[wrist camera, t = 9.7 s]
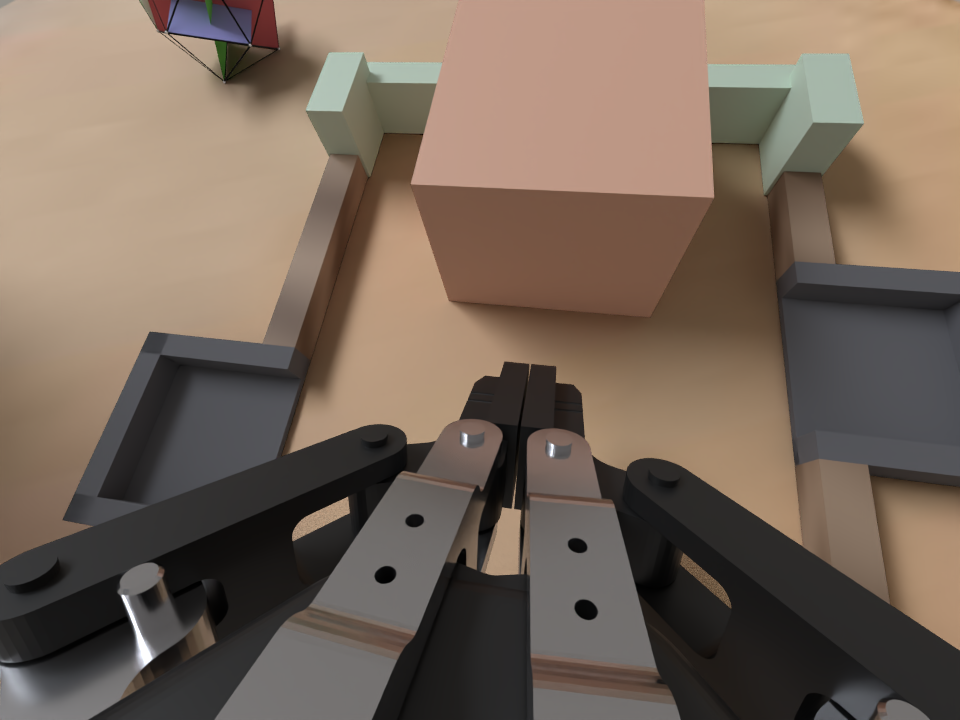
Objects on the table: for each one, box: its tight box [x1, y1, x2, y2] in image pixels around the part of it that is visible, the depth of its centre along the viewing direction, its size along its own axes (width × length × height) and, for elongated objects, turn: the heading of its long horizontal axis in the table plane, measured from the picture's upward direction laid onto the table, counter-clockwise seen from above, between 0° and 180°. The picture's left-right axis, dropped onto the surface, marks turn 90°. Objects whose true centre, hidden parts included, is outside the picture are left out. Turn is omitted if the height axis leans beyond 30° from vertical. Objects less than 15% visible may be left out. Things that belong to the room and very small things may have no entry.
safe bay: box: [306, 52, 864, 195], centre depth 22 cm, size 5×23×4 cm, turn 81°
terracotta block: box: [411, 0, 714, 317], centre depth 19 cm, size 10×9×8 cm
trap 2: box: [63, 332, 310, 526], centre depth 19 cm, size 8×7×2 cm
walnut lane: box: [263, 154, 890, 604], centre depth 18 cm, size 28×23×2 cm
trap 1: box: [776, 261, 960, 487], centre depth 17 cm, size 8×7×2 cm
